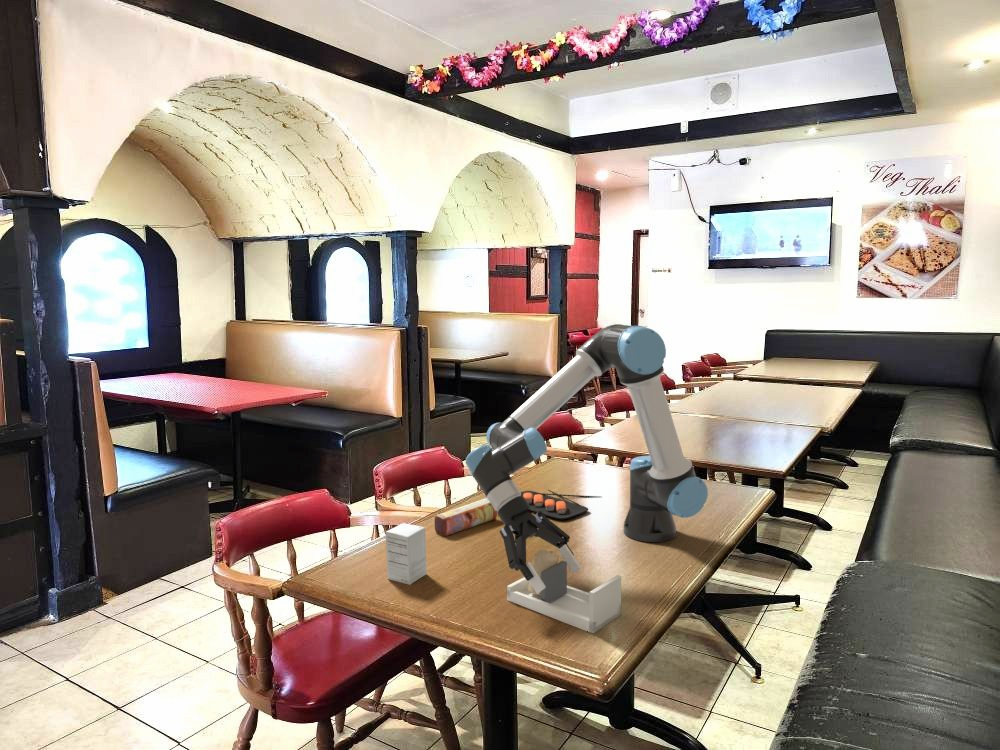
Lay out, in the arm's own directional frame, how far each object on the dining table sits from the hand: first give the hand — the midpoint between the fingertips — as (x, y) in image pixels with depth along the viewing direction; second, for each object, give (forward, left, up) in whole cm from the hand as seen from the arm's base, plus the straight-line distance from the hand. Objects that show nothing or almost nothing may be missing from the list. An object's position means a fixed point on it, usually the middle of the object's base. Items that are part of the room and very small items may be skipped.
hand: (560, 580), depth 155 cm
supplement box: (+12, -39, -6) cm, 42 cm away
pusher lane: (0, +1, -6) cm, 6 cm away
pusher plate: (0, -2, -5) cm, 5 cm away
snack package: (-24, -53, -7) cm, 59 cm away
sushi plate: (-61, -45, -7) cm, 76 cm away
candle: (+1, -6, -5) cm, 7 cm away
